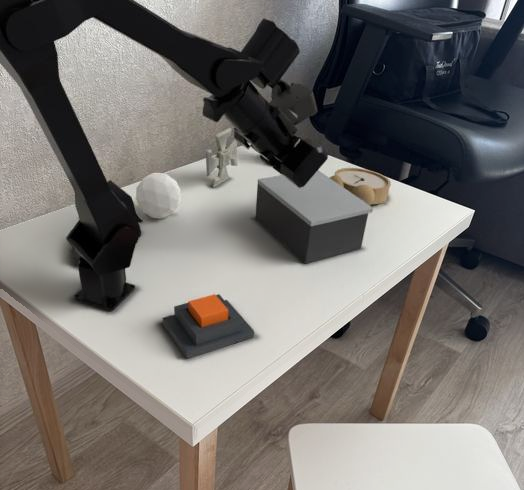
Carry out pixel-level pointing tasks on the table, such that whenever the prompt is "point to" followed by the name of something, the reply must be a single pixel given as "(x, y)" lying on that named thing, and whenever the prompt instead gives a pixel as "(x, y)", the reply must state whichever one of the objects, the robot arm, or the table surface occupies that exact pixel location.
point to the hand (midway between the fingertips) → (305, 175)
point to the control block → (206, 331)
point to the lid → (316, 199)
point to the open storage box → (308, 230)
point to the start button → (208, 310)
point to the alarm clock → (363, 184)
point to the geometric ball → (158, 195)
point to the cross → (221, 157)
